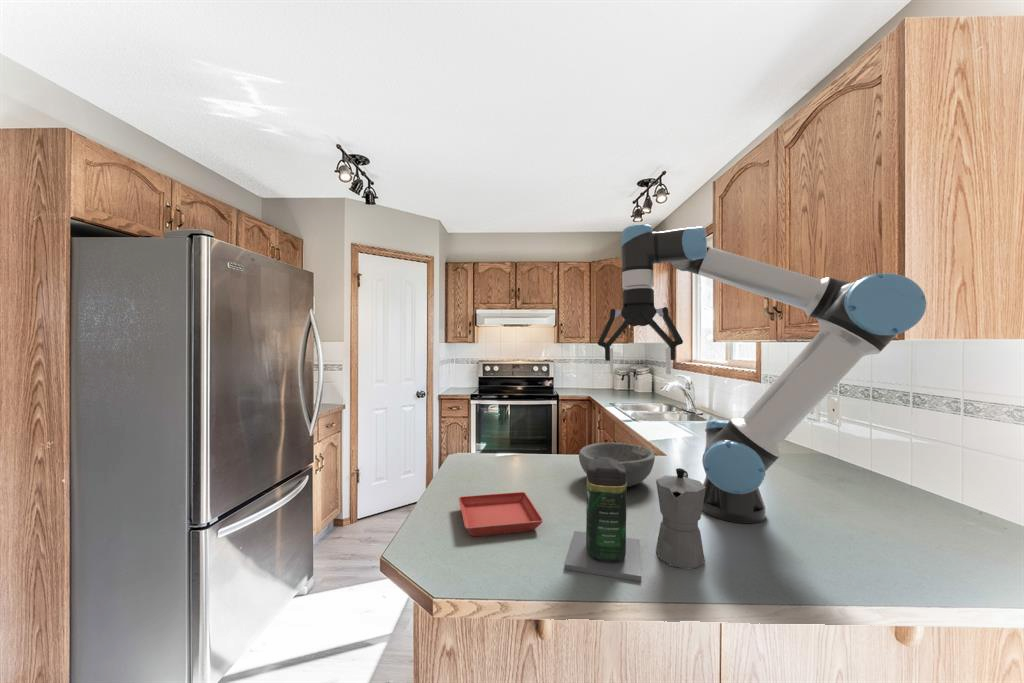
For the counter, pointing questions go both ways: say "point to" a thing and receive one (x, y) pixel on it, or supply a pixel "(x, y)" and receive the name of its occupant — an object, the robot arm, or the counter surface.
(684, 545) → the coffeepot
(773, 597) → the counter surface
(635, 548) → the plate
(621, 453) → the bowl
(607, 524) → the coffee jar
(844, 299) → the robot arm
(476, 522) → the plant saucer
